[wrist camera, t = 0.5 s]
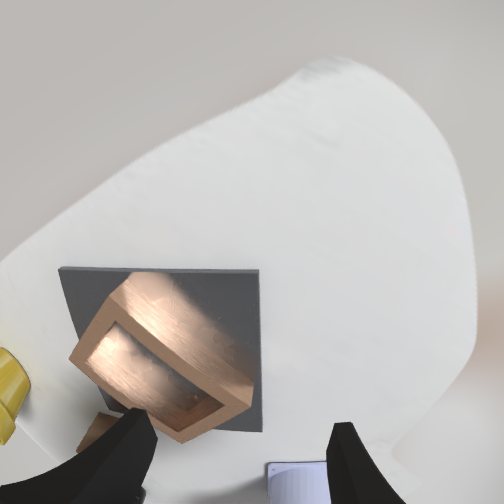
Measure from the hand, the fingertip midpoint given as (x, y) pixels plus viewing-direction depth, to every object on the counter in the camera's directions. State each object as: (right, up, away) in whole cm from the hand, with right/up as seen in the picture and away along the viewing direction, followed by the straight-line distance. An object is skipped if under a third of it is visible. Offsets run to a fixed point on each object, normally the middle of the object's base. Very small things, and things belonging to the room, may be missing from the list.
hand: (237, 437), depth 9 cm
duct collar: (-6, -1, +11) cm, 13 cm away
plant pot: (-30, -8, +16) cm, 35 cm away
